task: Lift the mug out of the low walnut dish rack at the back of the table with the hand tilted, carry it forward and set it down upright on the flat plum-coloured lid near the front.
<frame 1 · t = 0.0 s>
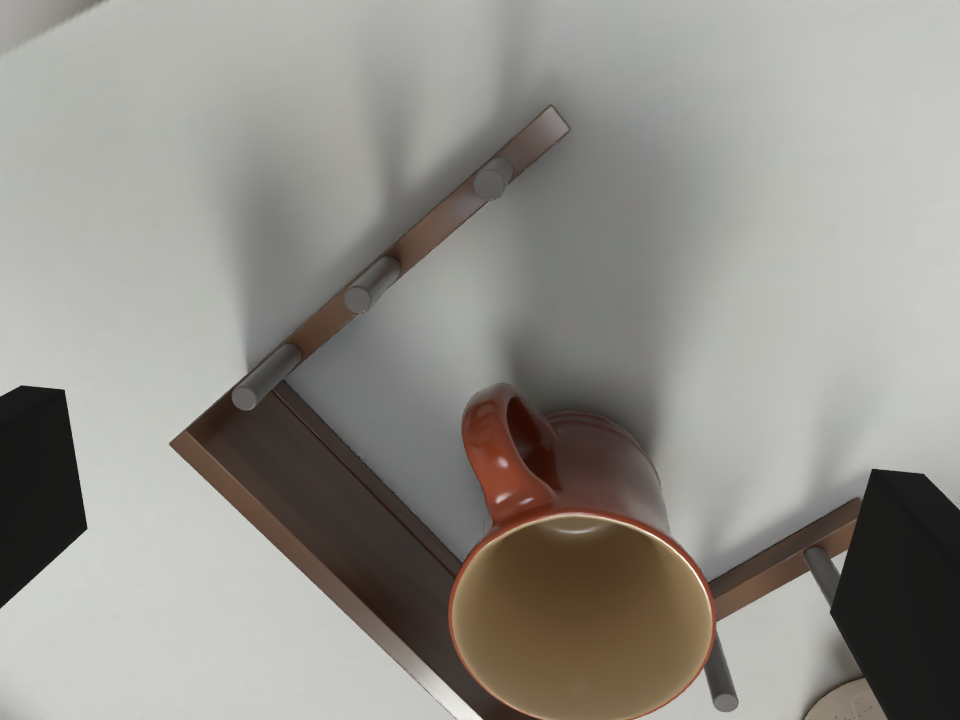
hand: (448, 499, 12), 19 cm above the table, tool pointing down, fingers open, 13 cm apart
teacup with lid: (871, 712, 36), on the table
mug: (556, 441, 32), on the table
dish rack: (556, 443, 32), on the table
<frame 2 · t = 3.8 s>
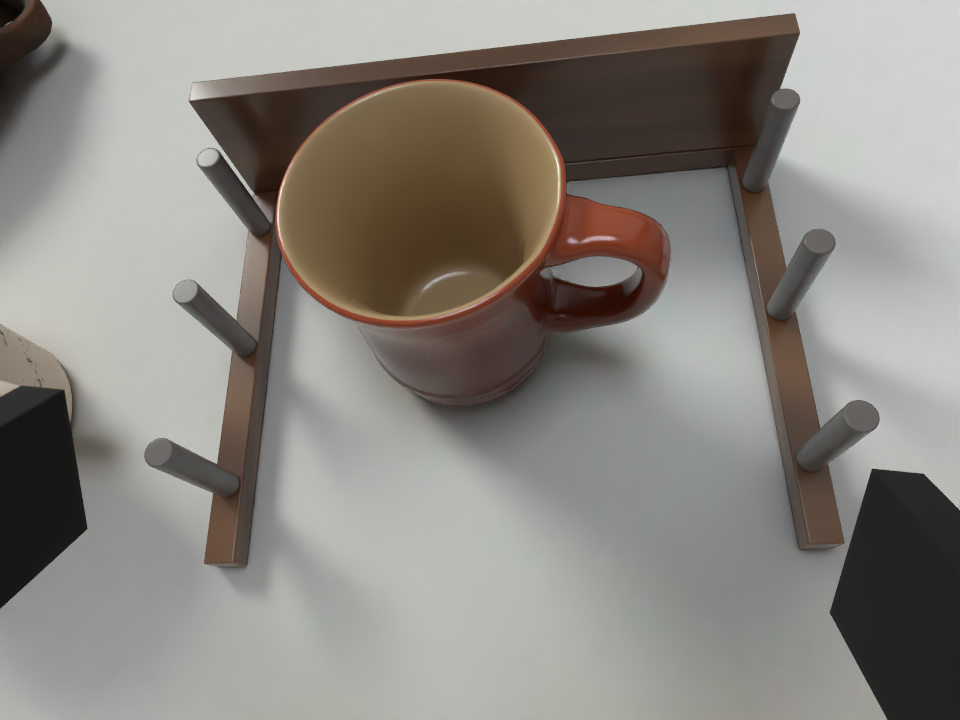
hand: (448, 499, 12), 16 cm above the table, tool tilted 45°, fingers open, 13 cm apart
teacup with lid: (17, 436, 31), on the table
mug: (504, 342, 30), on the table
dish rack: (503, 340, 30), on the table
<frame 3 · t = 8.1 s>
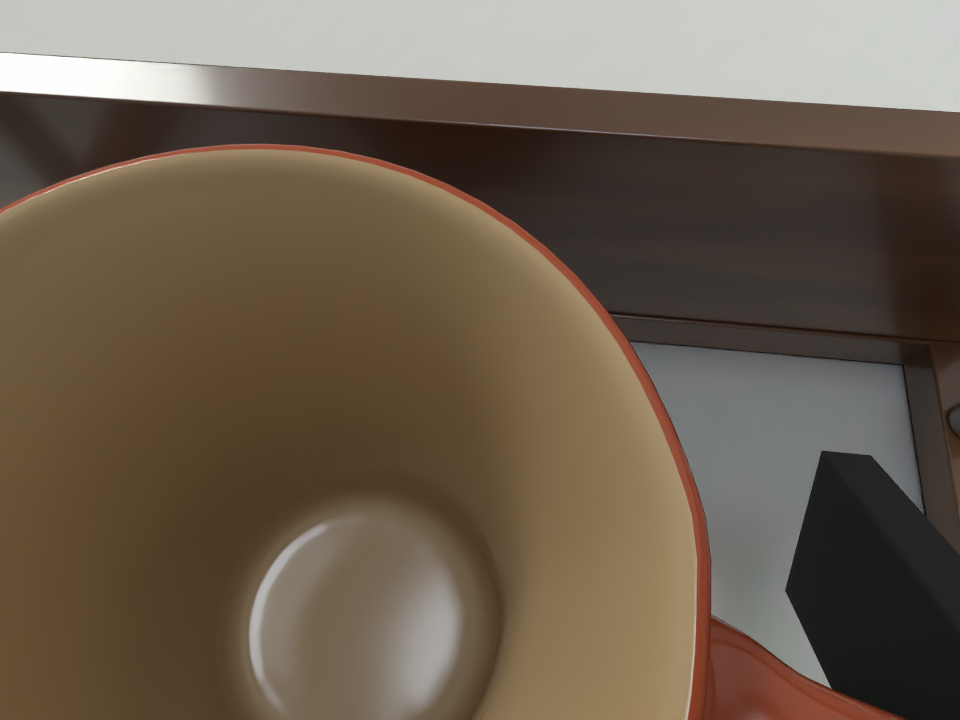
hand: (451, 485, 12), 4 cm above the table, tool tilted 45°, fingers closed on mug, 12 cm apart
mug: (447, 655, 15), on the table, touching gripper
dish rack: (447, 657, 15), on the table
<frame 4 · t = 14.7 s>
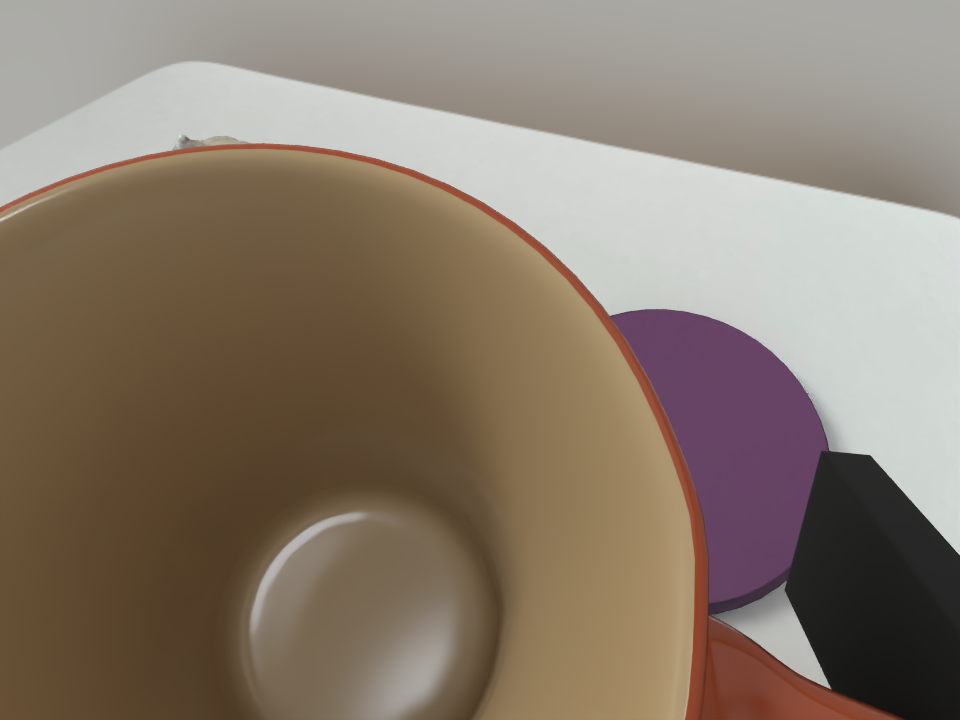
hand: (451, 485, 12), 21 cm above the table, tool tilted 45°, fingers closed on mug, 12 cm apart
mug: (446, 655, 15), point 16 cm above the table, touching gripper
plum lid: (667, 451, 33), on the table
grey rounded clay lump: (265, 278, 38), on the table
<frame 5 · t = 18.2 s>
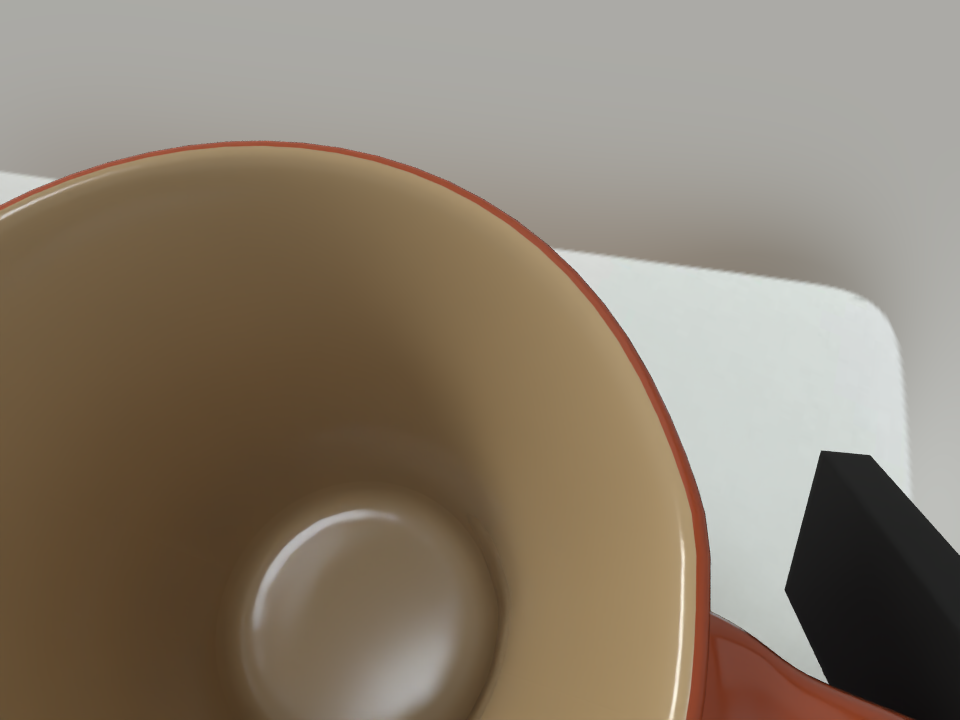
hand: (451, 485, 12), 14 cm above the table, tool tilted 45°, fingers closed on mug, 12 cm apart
mug: (446, 654, 15), point 10 cm above the table, touching gripper
when the fingers open (6 cm above the table, at t = 21.3 s): mug stays where it is, resting on plum lid.
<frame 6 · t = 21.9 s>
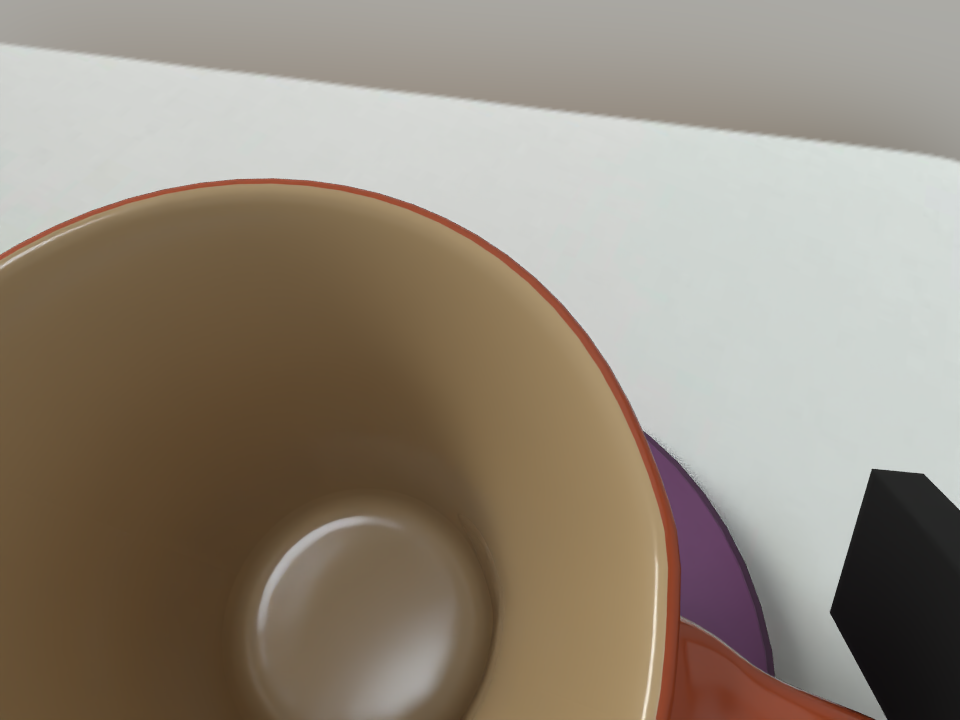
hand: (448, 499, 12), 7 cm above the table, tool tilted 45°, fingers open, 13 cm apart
mug: (443, 654, 16), point 1 cm above the table, touching plum lid
plum lid: (451, 658, 16), on the table
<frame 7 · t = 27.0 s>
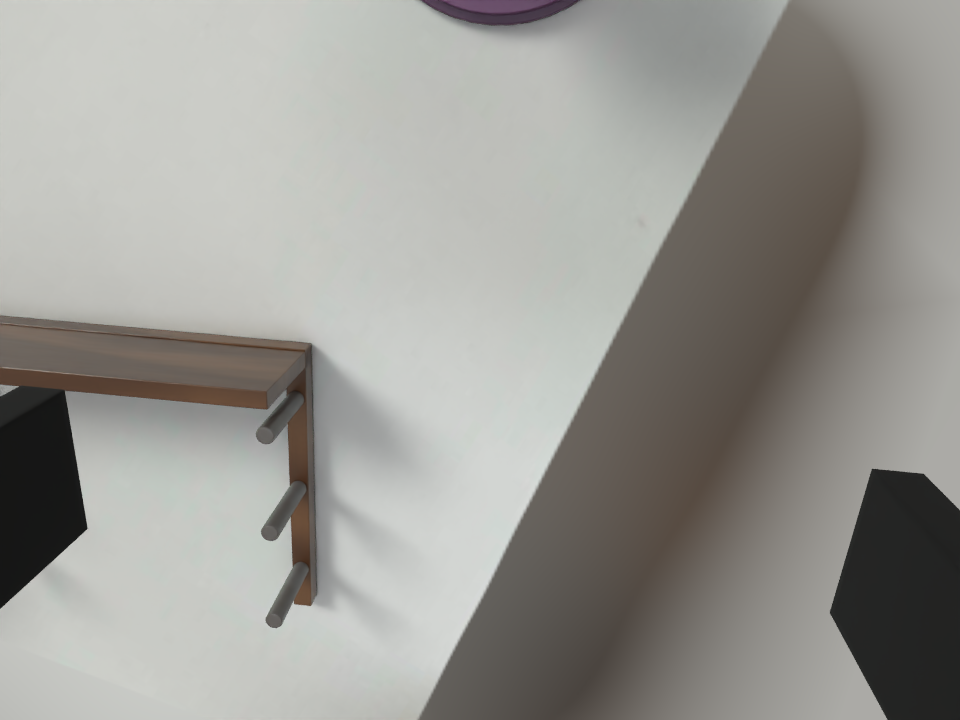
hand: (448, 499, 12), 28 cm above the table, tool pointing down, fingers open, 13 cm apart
dish rack: (137, 460, 45), on the table
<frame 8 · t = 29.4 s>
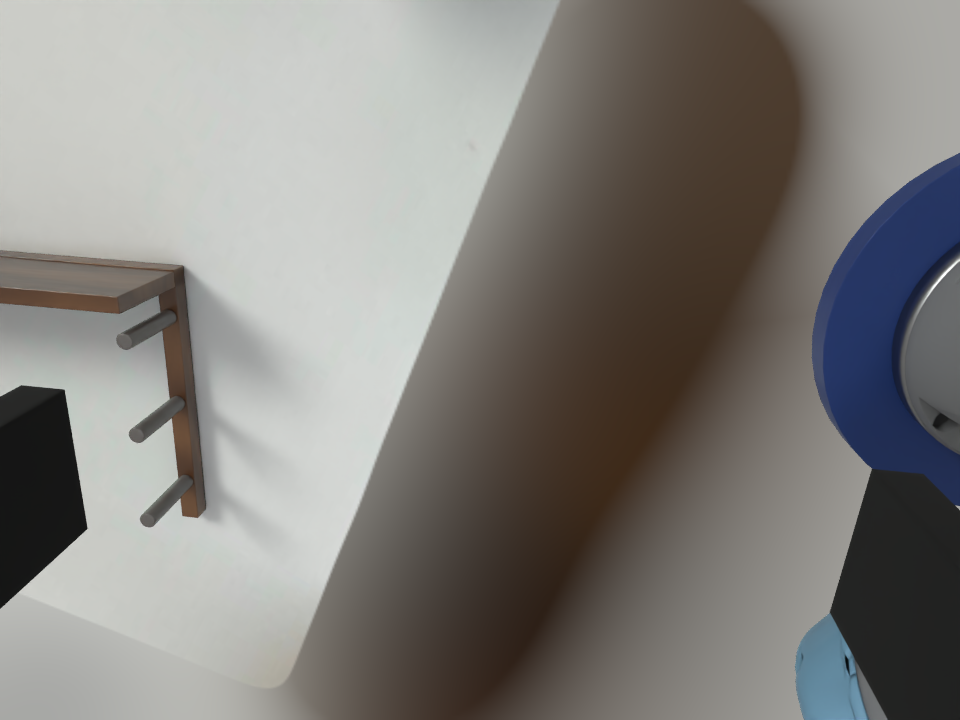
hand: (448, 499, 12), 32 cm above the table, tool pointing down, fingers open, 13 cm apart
dish rack: (35, 380, 48), on the table
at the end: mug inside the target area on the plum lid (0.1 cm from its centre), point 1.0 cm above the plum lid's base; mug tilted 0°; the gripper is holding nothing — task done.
